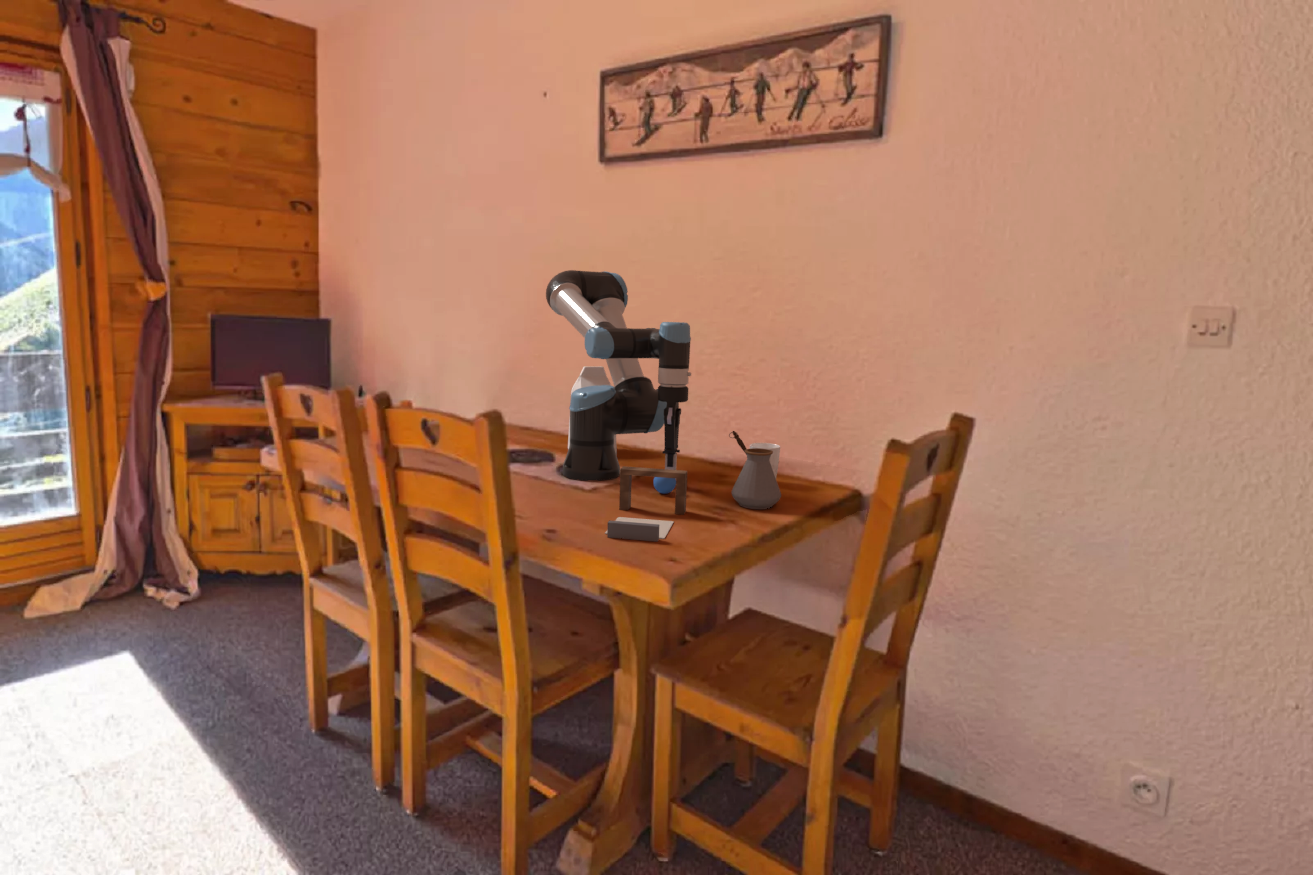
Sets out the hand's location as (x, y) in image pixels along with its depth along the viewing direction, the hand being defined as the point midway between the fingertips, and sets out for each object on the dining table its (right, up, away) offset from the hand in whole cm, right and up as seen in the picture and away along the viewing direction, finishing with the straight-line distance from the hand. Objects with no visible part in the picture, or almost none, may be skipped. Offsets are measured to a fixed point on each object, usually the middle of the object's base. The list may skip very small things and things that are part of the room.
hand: (670, 478), depth 193 cm
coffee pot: (+18, -5, -10) cm, 21 cm away
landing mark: (-7, -8, -36) cm, 37 cm away
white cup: (+24, -2, +8) cm, 26 cm away
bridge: (-4, -6, -22) cm, 23 cm away
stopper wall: (-8, -9, -43) cm, 45 cm away
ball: (-1, 0, -7) cm, 7 cm away
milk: (-23, +6, +42) cm, 48 cm away
